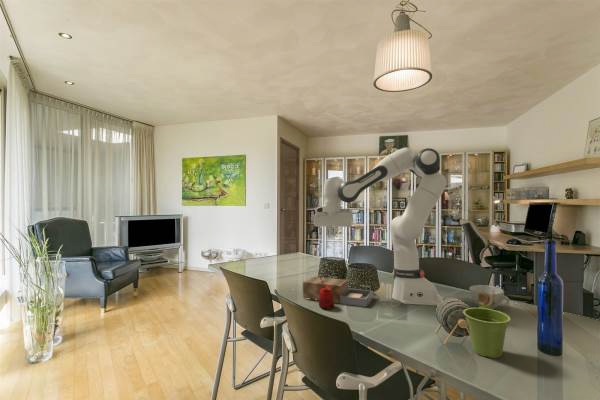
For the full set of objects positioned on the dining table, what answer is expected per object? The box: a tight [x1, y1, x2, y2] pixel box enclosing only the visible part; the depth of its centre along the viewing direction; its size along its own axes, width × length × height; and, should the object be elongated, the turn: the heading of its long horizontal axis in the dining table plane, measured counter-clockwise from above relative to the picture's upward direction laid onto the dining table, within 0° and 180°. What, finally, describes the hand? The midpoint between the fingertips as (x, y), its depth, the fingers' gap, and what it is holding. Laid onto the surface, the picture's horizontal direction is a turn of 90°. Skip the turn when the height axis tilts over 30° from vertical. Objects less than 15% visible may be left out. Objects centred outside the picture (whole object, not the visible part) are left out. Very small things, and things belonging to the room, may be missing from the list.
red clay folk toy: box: [318, 273, 335, 310], centre depth 131 cm, size 8×7×15 cm
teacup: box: [469, 284, 510, 310], centre depth 125 cm, size 15×12×8 cm
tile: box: [347, 293, 363, 298], centre depth 138 cm, size 6×6×2 cm
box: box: [339, 288, 374, 308], centre depth 138 cm, size 12×14×4 cm
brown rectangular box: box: [302, 276, 349, 304], centre depth 145 cm, size 19×12×8 cm, turn 64°
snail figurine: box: [477, 290, 495, 309], centre depth 112 cm, size 5×6×12 cm
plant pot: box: [462, 307, 511, 359], centre depth 88 cm, size 12×12×11 cm
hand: (333, 235), depth 153 cm, fingers closed
